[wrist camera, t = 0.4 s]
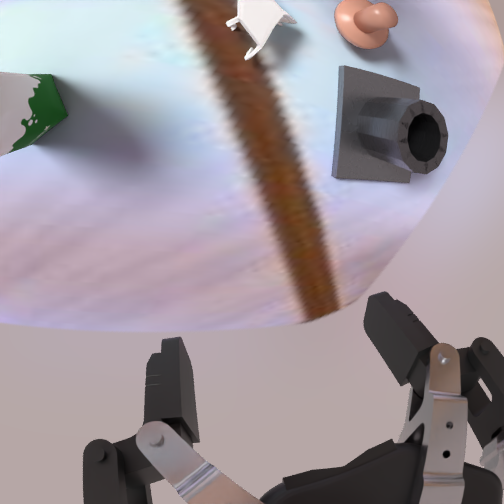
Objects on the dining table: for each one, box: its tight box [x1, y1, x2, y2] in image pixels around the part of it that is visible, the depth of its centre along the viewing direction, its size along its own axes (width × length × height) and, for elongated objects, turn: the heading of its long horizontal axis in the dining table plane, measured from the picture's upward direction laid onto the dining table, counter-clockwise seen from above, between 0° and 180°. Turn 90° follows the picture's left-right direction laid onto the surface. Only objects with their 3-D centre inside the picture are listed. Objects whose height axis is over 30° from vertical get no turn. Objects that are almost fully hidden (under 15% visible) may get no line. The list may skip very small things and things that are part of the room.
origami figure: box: [226, 0, 297, 60], centre depth 24 cm, size 12×8×5 cm
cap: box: [334, 0, 398, 49], centre depth 24 cm, size 8×8×8 cm
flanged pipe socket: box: [331, 65, 448, 183], centre depth 31 cm, size 16×14×10 cm
